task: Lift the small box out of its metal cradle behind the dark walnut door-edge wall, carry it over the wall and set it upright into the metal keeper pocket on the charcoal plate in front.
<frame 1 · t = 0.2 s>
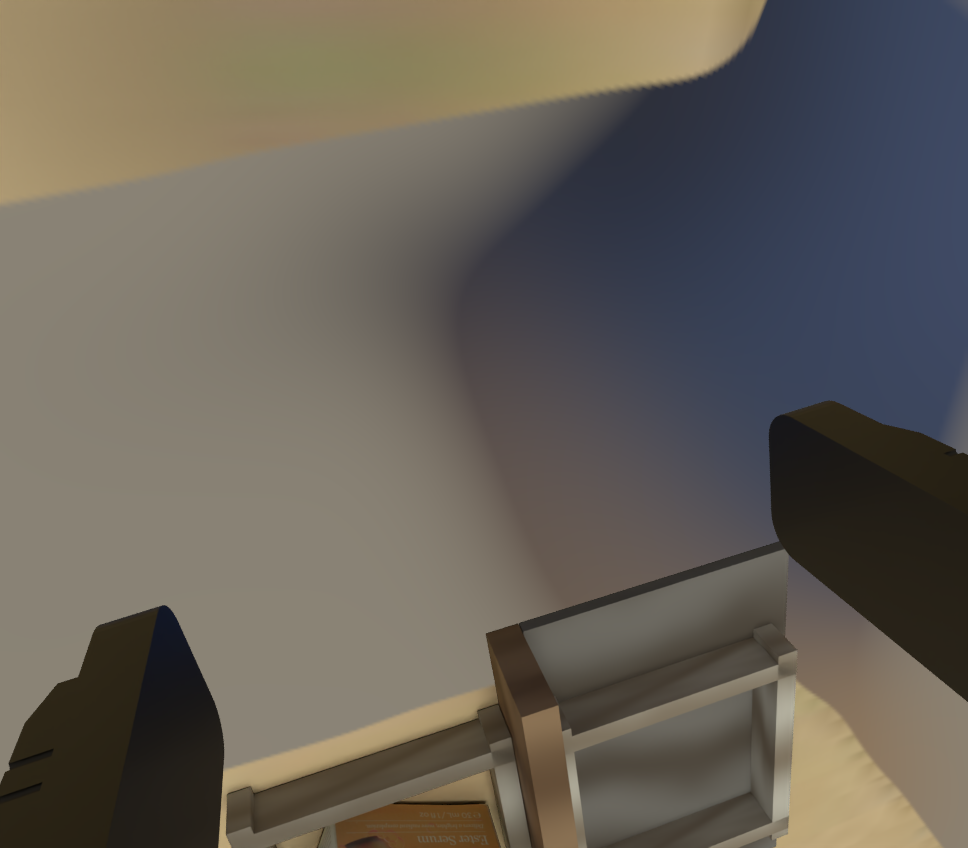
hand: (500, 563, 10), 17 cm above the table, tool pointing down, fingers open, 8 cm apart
door edge frame: (531, 794, 38), on the table
small box: (395, 838, 37), resting in door edge frame
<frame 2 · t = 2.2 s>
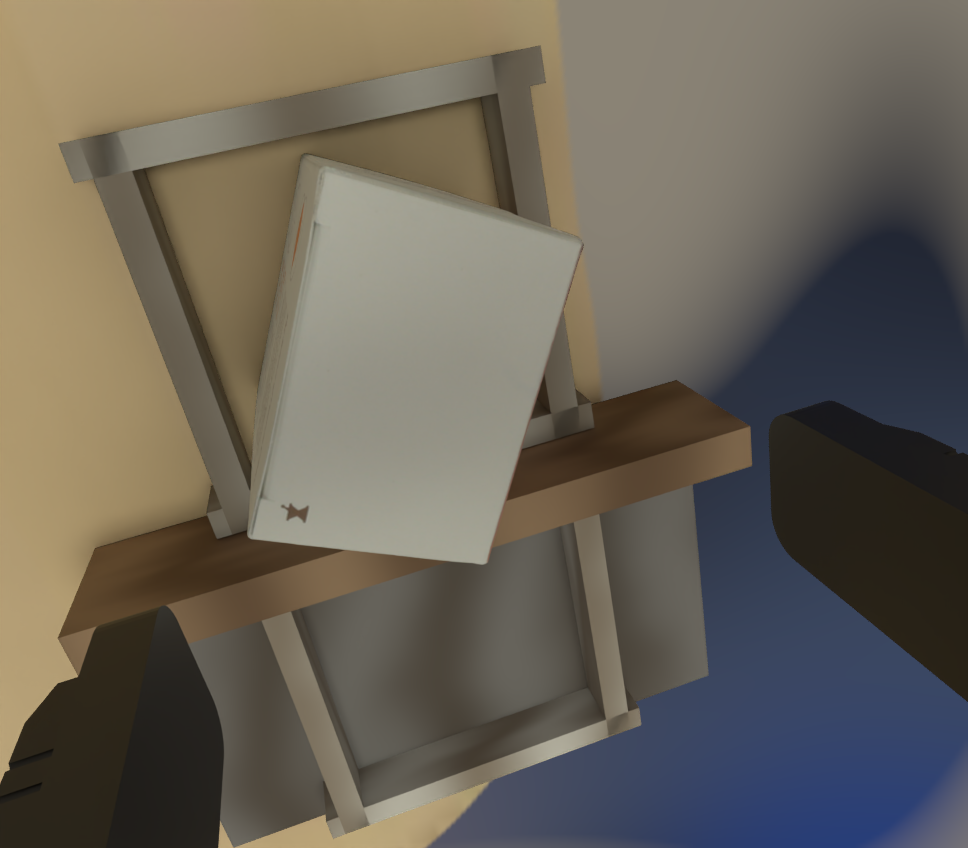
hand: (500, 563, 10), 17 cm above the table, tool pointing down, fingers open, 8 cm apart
door edge frame: (409, 476, 28), on the table
small box: (360, 293, 25), resting in door edge frame
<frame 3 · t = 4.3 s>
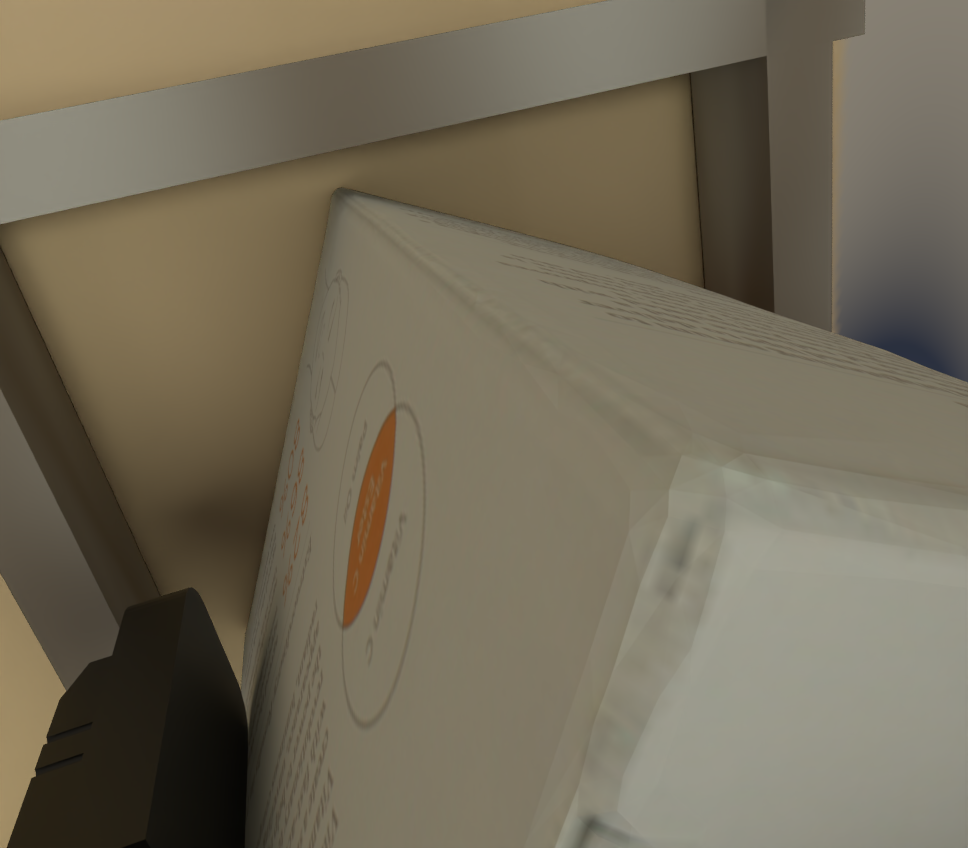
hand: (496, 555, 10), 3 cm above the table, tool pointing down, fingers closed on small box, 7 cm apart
door edge frame: (512, 741, 16), on the table
small box: (440, 447, 13), resting in door edge frame, touching gripper
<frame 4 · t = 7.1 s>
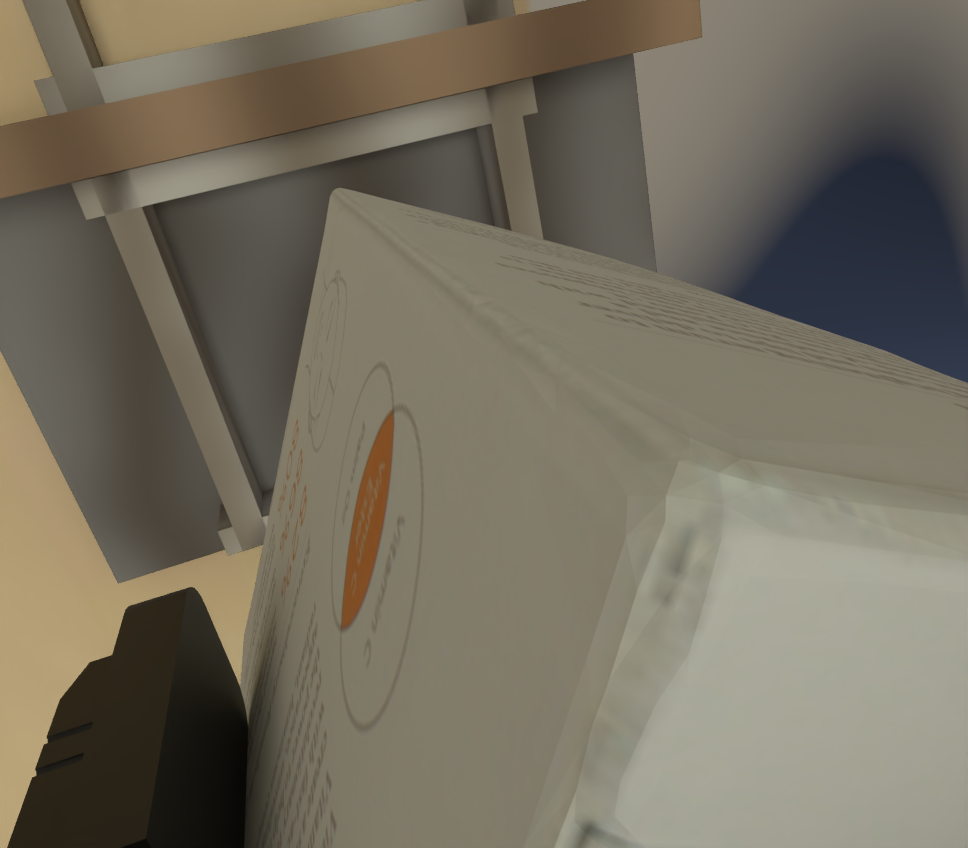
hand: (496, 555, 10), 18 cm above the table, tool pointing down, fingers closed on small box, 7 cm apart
door edge frame: (300, 100, 23), on the table
small box: (439, 447, 13), point 14 cm above the table, touching gripper
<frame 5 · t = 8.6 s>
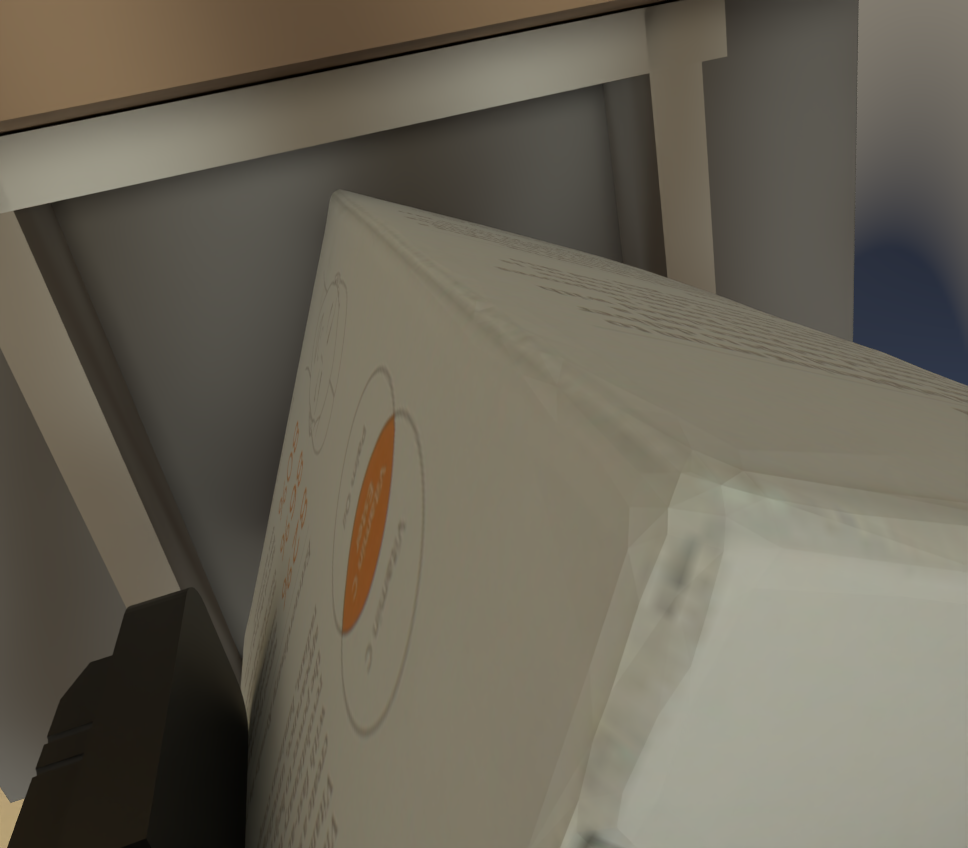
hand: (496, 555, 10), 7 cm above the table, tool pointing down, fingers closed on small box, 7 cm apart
door edge frame: (313, 30, 14), on the table
small box: (439, 448, 13), point 4 cm above the table, touching gripper
when the fingers open (5 cm above the table, at t = 10.0 s): small box drops 1 cm, resting on door edge frame.
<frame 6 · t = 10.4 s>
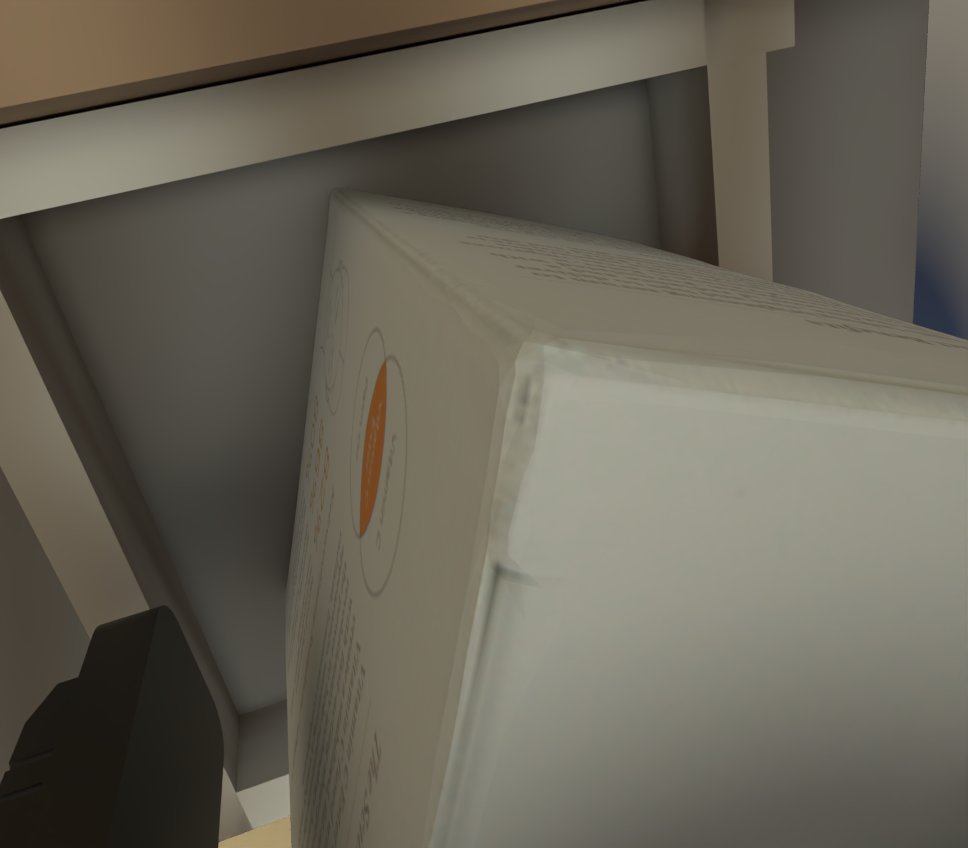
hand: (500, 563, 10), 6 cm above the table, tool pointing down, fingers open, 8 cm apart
door edge frame: (321, 17, 12), on the table
small box: (446, 415, 15), resting on door edge frame
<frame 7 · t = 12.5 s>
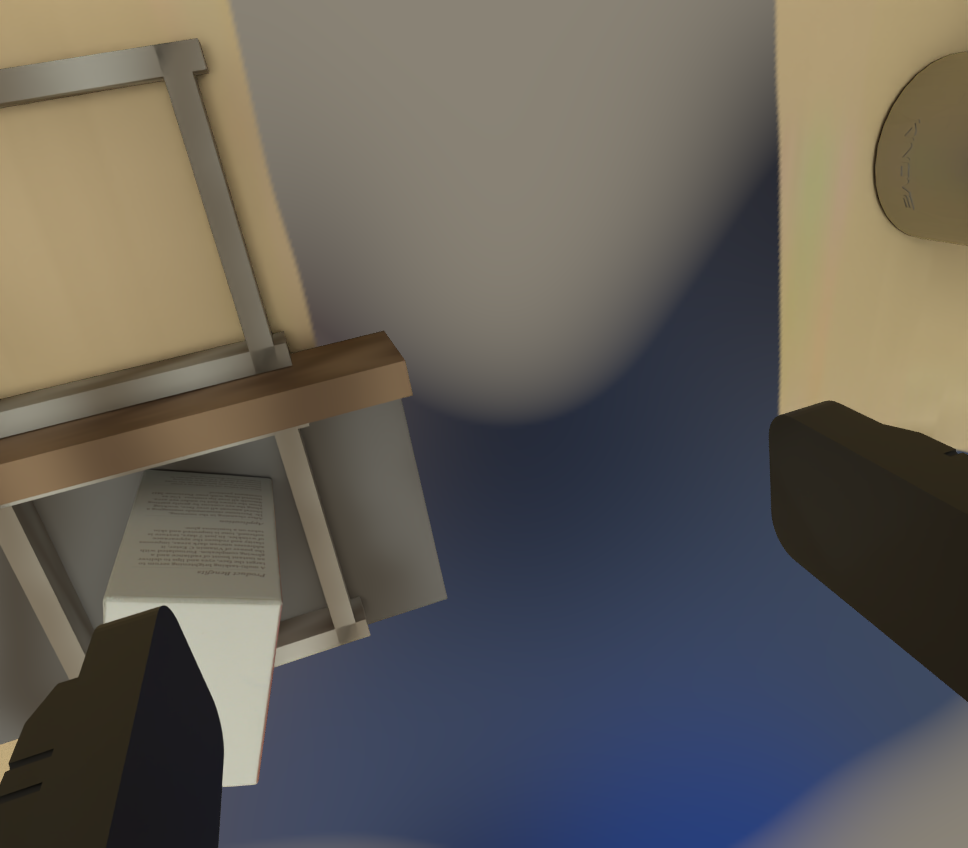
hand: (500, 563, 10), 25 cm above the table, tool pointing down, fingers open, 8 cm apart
door edge frame: (139, 408, 32), on the table
small box: (202, 546, 35), resting on door edge frame
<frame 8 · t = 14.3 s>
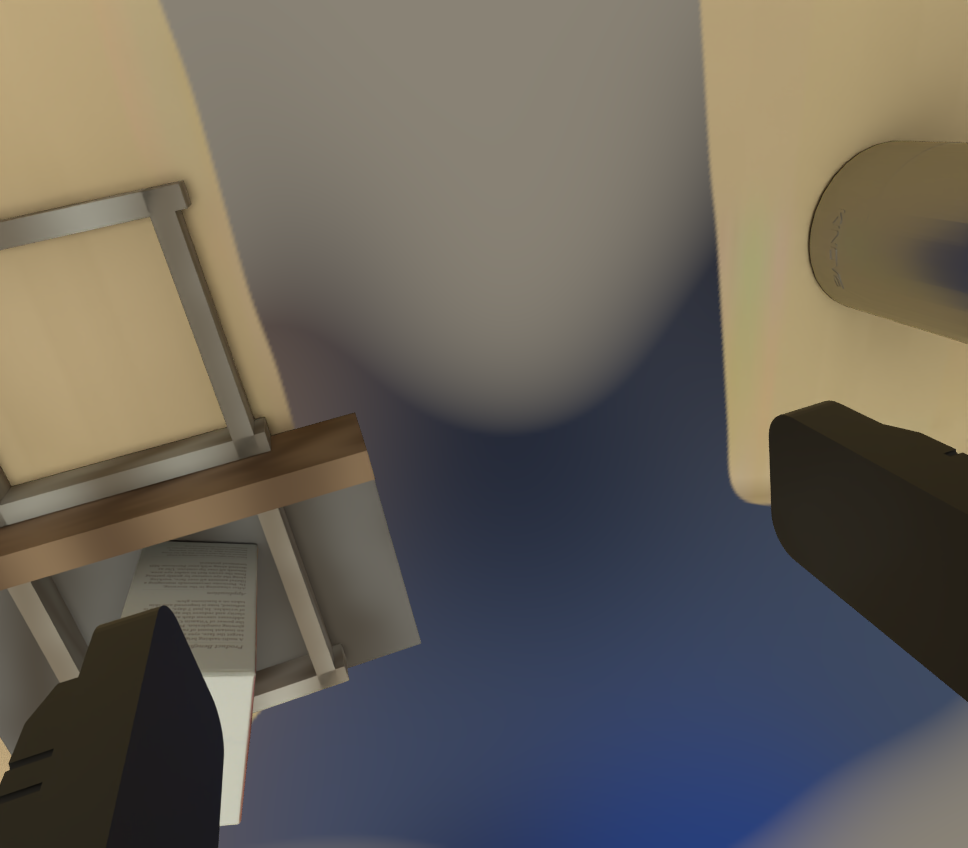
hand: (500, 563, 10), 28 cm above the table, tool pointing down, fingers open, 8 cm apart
door edge frame: (139, 487, 37), on the table
small box: (198, 603, 39), resting on door edge frame
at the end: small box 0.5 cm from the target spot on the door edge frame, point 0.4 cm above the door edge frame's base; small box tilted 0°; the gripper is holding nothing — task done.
